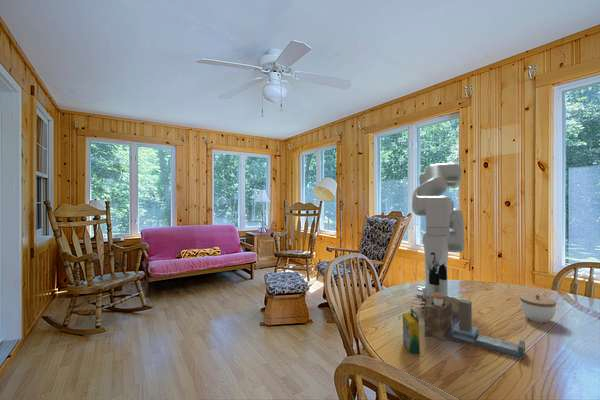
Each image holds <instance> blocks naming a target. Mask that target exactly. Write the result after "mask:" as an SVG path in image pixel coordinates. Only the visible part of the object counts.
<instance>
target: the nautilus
mask: <svg viewBox="0 0 600 400" xmlns="http://www.w3.org/2000/svg"><path fill="white" fill-rule="evenodd" d="M449 296H450V295H449ZM449 296H443V300H444V301H449V302H452V317H455V316H459V301H460V300H461V299H459V298H455V297H452V296H451V297H449ZM413 297H414V298H413V301H420V302H421V303H417V305H418V307H417V306H414V308H415V309H414V308H413V306H412V305H416V303H414V302H412V303H411V305H410V308H413V310H414V311H420V314H421V313H423V314H424V306H425V305H426V304H428V303H429V302H430V301H431V300H433V299H434V297H433V296H432V297H429V296H428V297H426V296H422V295H418V296H417V298H416V295H413ZM423 297H426V298H423ZM418 298H419V299H418ZM423 302H424V303H423ZM419 305H420V307H419Z"/></svg>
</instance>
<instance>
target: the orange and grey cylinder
mask: <svg viewBox="0 0 600 400" xmlns="http://www.w3.org/2000/svg"><path fill="white" fill-rule="evenodd" d="M433 297H434V305H436V306H440V307H443V294H442V293H433Z"/></svg>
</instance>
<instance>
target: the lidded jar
mask: <svg viewBox="0 0 600 400" xmlns="http://www.w3.org/2000/svg"><path fill="white" fill-rule="evenodd" d="M519 300H520V307H521V311H522V312H523V314H524V315H525V316H526V317H527V319H528V318H529V319H528V320H530V321H533V322H536V321H537V322H536V323H542V322H546V323H548V322H549V321H550V320H553V318H554V317H555V314H556V309H557V308H556V306H557V302H556V301H555V300H554V299H552V298H550V297H546V296H541V295H540V294H535V295H534V294H522V295H520V297H519Z"/></svg>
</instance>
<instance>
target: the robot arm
mask: <svg viewBox="0 0 600 400" xmlns="http://www.w3.org/2000/svg"><path fill="white" fill-rule="evenodd" d="M462 177H463V171H462V167H461V166H460V165H459V164H458V163H456V162H446V163H434V164H430V165H428V166H427V167H426V168H425V171H424V172H422V173H421V174H420V175H419V177H418V181H419V186H417V187H416V188H415V189H414V191H413V194H412V200H411V209H412V212H413V214H414V215H416V216H418V217H422V216H423V217H425V232H424V233H423V235H422V244H423V251H424V273H425V275H424V282H425V286H421V285H417V286H416V290H417V291H418V292H422V293H421V296H426V297H428V296H429V297H432V296H433V293H442V294H443V296H449V297H452V296H451V295H449V294H448V293H449V291H448V286H449V285H448V261H449V253H462V252H463V251H464V249H465V244H466V243H465V223H464V215H463V212H462V211H461V210H460V209H459V208H455V204H454V203H455V201H454V200H452V198H451V197H449V196H447V195H443V194H444V193H445V192H447V190H448V189H456V188H458V187H459V186H460V184H461V182H462ZM450 230H451V231H450ZM426 297H422V298H426Z"/></svg>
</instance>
